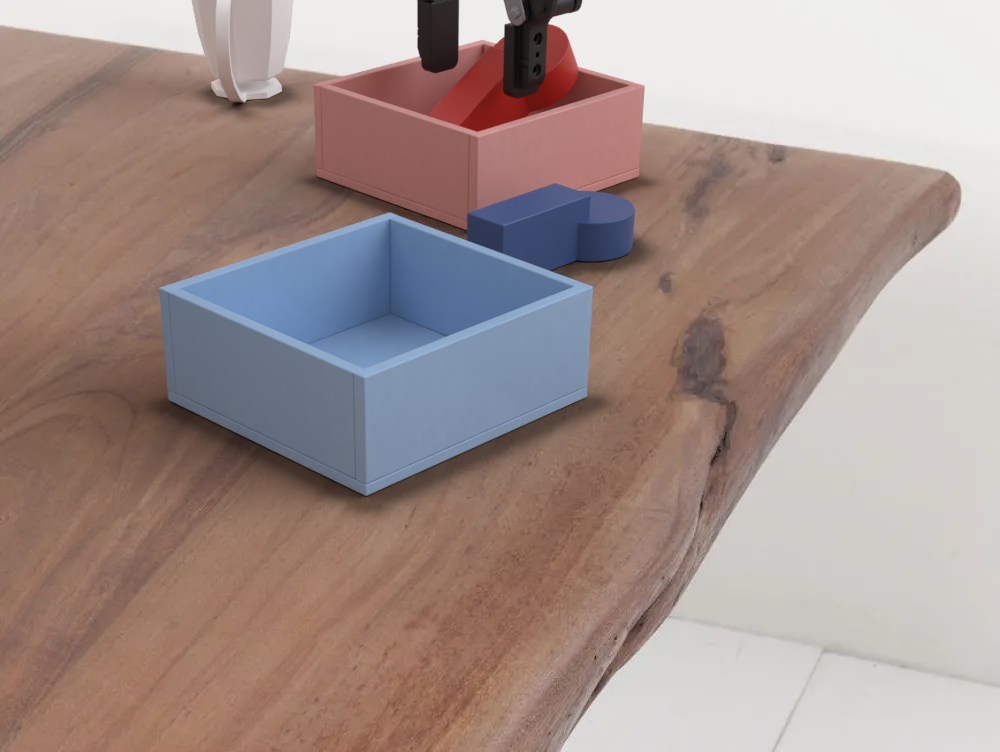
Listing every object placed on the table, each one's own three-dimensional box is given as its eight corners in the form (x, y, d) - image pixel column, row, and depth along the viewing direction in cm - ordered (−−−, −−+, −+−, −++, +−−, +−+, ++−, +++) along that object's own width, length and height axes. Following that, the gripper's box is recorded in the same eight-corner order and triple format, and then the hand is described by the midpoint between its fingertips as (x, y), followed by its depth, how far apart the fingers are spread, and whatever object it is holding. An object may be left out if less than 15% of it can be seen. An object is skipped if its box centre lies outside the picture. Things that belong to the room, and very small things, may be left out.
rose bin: (315, 176, 104) (313, 83, 101) (480, 126, 112) (482, 39, 109) (475, 234, 97) (477, 136, 94) (639, 176, 105) (645, 85, 102)
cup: (311, 76, 119) (307, -60, 115) (285, 124, 111) (279, -20, 106) (201, 70, 120) (192, -65, 115) (168, 118, 111) (157, -26, 107)
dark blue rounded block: (448, 270, 93) (448, 206, 91) (581, 221, 99) (584, 160, 97) (519, 296, 90) (521, 231, 89) (651, 245, 96) (656, 183, 95)
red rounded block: (422, 165, 104) (402, 120, 102) (531, 44, 107) (514, -3, 104) (485, 186, 102) (465, 140, 99) (595, 62, 104) (579, 14, 101)
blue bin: (167, 400, 80) (158, 287, 77) (390, 316, 88) (389, 211, 85) (365, 496, 73) (363, 377, 71) (587, 397, 81) (593, 286, 79)
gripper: (329, -284, 93) (338, 67, 103) (545, -249, 85) (532, 127, 95) (436, -295, 98) (434, 42, 108) (650, -263, 90) (627, 98, 100)
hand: (480, 80), depth 101 cm, fingers open, 5 cm apart
